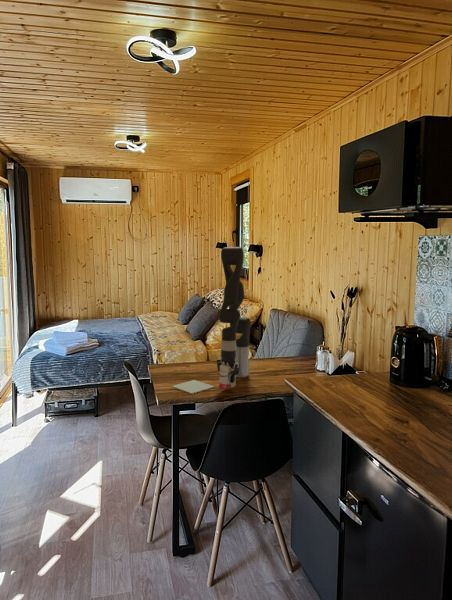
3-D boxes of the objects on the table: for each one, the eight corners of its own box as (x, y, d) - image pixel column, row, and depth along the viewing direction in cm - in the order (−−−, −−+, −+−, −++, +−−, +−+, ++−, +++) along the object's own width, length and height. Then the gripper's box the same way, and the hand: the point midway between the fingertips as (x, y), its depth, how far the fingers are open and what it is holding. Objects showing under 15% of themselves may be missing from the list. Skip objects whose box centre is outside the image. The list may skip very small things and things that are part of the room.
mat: (194, 380, 250) (194, 379, 250) (214, 387, 240) (214, 386, 240) (171, 387, 238) (171, 386, 238) (192, 394, 228) (192, 393, 228)
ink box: (227, 390, 231) (227, 367, 229) (218, 388, 233) (219, 365, 232) (236, 385, 238) (236, 363, 236) (227, 383, 241) (228, 361, 239)
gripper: (244, 350, 231) (243, 383, 233) (223, 344, 240) (222, 376, 243) (234, 352, 225) (233, 386, 228) (212, 347, 235) (212, 379, 237)
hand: (227, 381), depth 235 cm, fingers closed on ink box, 5 cm apart
